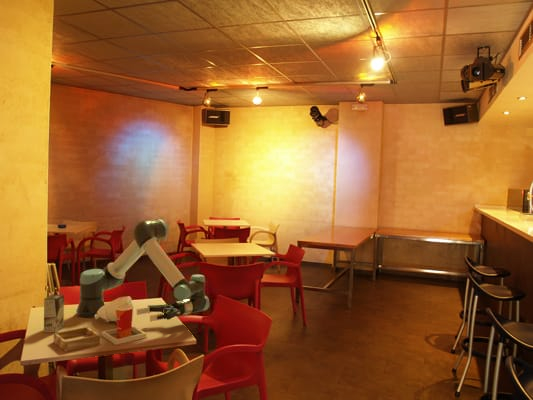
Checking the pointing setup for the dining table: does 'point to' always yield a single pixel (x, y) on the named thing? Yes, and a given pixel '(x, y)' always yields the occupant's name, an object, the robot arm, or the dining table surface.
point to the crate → (76, 338)
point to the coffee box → (53, 313)
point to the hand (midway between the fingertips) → (143, 315)
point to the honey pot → (112, 309)
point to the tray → (126, 339)
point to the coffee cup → (124, 319)
